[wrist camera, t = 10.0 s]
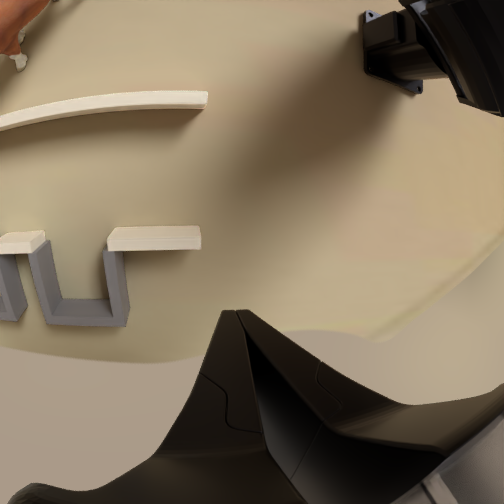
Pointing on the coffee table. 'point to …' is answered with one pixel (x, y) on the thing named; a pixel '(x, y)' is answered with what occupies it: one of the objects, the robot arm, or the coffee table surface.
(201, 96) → the trap pen
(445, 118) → the coffee table surface
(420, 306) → the coffee table surface
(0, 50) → the bull figurine
